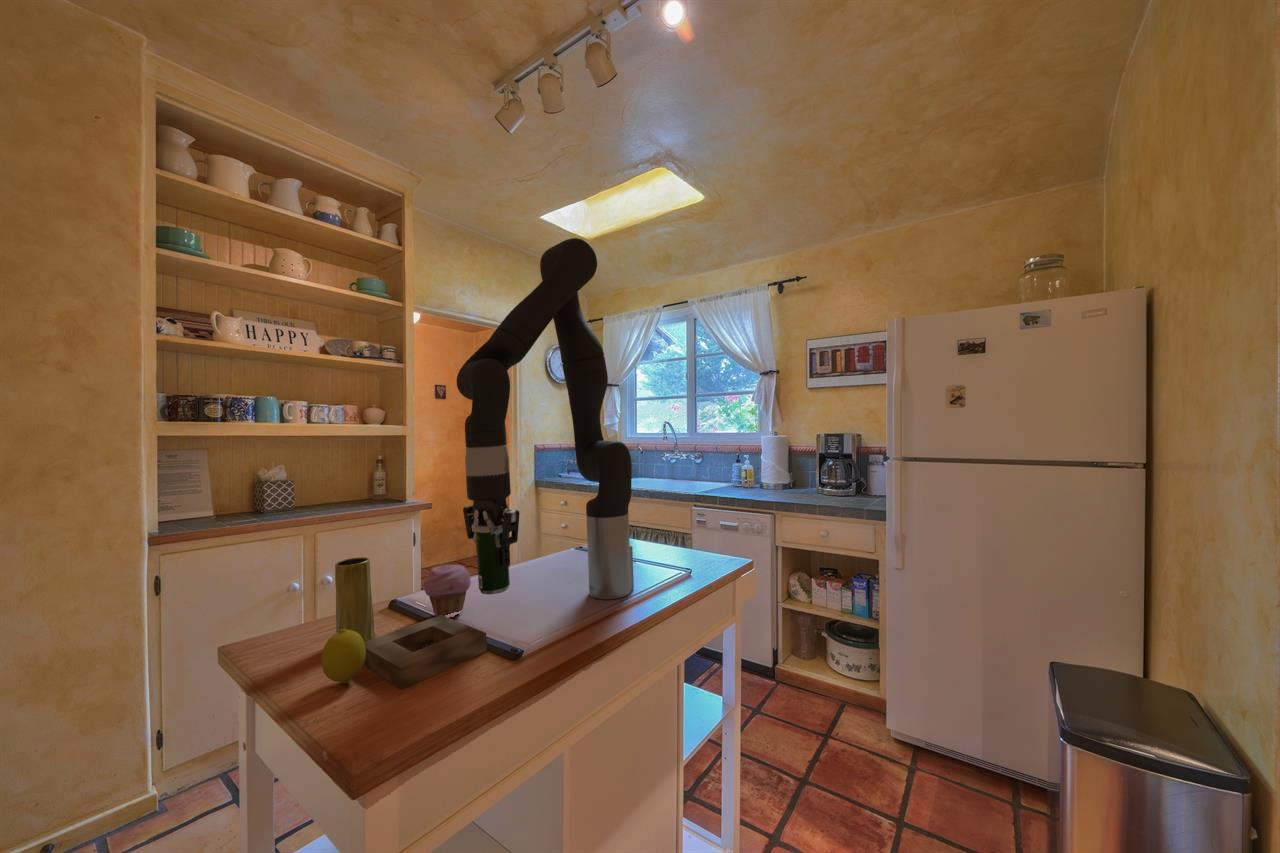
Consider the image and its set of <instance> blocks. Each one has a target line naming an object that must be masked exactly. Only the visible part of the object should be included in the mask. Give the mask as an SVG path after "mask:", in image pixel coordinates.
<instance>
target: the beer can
mask: <svg viewBox="0 0 1280 853" xmlns="http://www.w3.org/2000/svg"><path fill="white" fill-rule="evenodd" d="M495 528H496V529H501V528H503V524H502V525H498V526H495ZM499 535H500V539H501V540H502V533H500V534H499ZM476 548H477V553H476V563H477V579H478V580H477V582H478V589H479V592H480V593H481V594H482V595H488V596H489V595H496V594H501V593H504V592H506V591H508V589H509V588H510V584H511V583H510V582H511V580H510V567H509V566H510V565H509V566H508V567H506V568H503V569H499V568H497V560H496V548H497V547H496V544H495V541H494V536H491V535H490V531H489V526H487V525H485V526H484V525H483V524H480V526H478V525H477V528H476V544H475V549H476Z"/></svg>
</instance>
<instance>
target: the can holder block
mask: <svg viewBox="0 0 1280 853" xmlns="http://www.w3.org/2000/svg"><path fill="white" fill-rule="evenodd" d="M487 641H488V640H487V632H485V631H482V630H480V629H477V628H475V627H473V626H469V625H467V624H464V623H462V622H460V621H457V620H455V619H453V618H447V617H445V616H442V615H439V616H436V615H435V616H434V617H431V618H428V619H426V620H423V621H419V622H417V623H414V624H411V625H409V626H406V627H403V628H400V629H398V630H394V631H391V632H389V633H386V634H384V635H380V636H378V637H375V638H374V639H371V640H369V641H366V642H364V644H365V649H366V655H365V661H364V664H363V667H366V668H367V669H368V670H371V671H372V672H373V673H375V674H376V675H378V676H380V677H382V679H385V680H386V681H387V682H390V683H391V684H392V685H394V686H396V687H397V688H399V689H400V690H404V689H406V688H409V687H410V686H414V685H416V684H417V683H420V682H422V681H424V680H427V679H429V678H430V677H432V676H434V675H437V674H440V673H442V672H444V671H446V670H448V669H450V668H453V667H455V666H457V665H459V664H461V663H464V662H466V661H468V660H470V659H472V658H475V657H478V656H479V655H481V654H483V653H485V652H487V651H488V648H487V645H488V642H487Z"/></svg>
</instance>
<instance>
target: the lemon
mask: <svg viewBox="0 0 1280 853" xmlns="http://www.w3.org/2000/svg"><path fill="white" fill-rule="evenodd" d="M365 655H366V649H365V644H364V641H363V639H362V637H361V636H360V635H359V634H358V633H357V632H355V631H352V630H347V629H341V630H340V631H339V632H337V633H334V634H333V635H331V637H329V639H328V640H327V641H326V643H325V644H324V646H323V649H322V654H321V668H322V671H323V674H324V675H325V677H326V678H327V679H329V680H331V681H333V682H339V683H341V684H343V685H346V684H347V683H348V682H349V681H350V680H351V679H353V678H354V677H355V676H356V675H357V674H358V673H360V671H361V670H362V668H363V667H364V665H363V664H364V661H365Z"/></svg>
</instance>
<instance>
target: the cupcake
mask: <svg viewBox="0 0 1280 853" xmlns="http://www.w3.org/2000/svg"><path fill="white" fill-rule="evenodd" d="M471 581H472V580H471V575H470V572H469V571H468V570H467V568H466V567H465V566H463V565H461V564H460V565H459V564H445V565H439V566H436V567H433V568H432V569H430V571H429V573H428V574H427V577H425V579H424V581H423V586H422V587H423V588H422V589H423V591H424V592H425V594H426V595H427V596H429V600H430V604H431V607H432V609H433V614H434V615H435V614H436V615H437V616H439V615H442V616H445V615H448V614H451V613H454V612H459V611H461V610H462V611H463V609H464V605H465V600H466V596H467V595H466V594H467V591H468V590H469V588H470V587H471ZM462 611H461V612H462ZM436 615H435V616H436Z"/></svg>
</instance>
